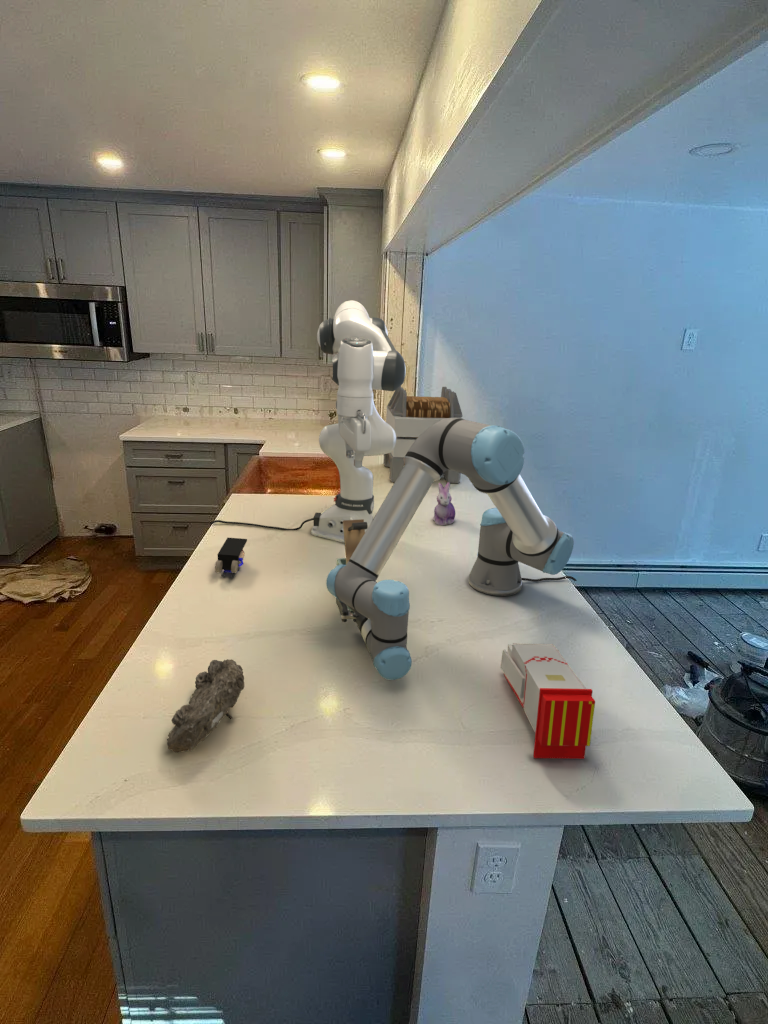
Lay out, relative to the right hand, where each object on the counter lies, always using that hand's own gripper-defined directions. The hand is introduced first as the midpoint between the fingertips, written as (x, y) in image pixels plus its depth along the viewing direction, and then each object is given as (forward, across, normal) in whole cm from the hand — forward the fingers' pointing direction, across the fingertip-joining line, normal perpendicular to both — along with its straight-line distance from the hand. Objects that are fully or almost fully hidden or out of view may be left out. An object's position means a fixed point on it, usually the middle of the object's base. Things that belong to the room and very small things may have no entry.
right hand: (354, 582), depth 150 cm
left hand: (+4, 0, +32) cm, 32 cm away
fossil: (-38, -36, -6) cm, 53 cm away
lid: (0, 0, +10) cm, 10 cm away
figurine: (+54, +47, -6) cm, 72 cm away
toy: (-49, +27, -6) cm, 57 cm away
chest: (+3, 0, -6) cm, 7 cm away
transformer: (+119, +60, -6) cm, 133 cm away
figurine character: (+27, -31, -6) cm, 41 cm away
